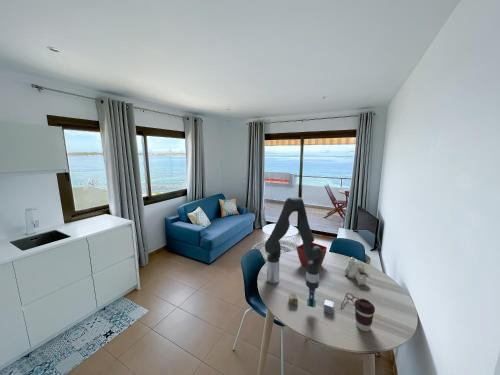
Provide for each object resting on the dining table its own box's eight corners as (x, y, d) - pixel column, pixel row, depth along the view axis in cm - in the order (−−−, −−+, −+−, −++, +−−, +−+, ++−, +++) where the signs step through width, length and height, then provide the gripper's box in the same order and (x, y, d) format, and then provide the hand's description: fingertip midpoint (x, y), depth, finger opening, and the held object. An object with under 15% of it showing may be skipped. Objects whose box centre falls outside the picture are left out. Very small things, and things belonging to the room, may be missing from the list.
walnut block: (289, 305, 133) (290, 298, 132) (289, 300, 138) (289, 293, 137) (297, 305, 133) (297, 298, 132) (296, 300, 137) (296, 293, 137)
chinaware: (370, 291, 146) (374, 270, 143) (345, 284, 152) (348, 264, 149) (363, 270, 172) (367, 252, 169) (342, 265, 178) (345, 247, 174)
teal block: (307, 305, 124) (307, 298, 123) (307, 300, 129) (307, 293, 128) (315, 307, 123) (315, 300, 122) (315, 302, 127) (316, 294, 126)
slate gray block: (323, 311, 127) (324, 304, 126) (325, 306, 131) (325, 299, 130) (332, 314, 125) (332, 307, 124) (333, 309, 129) (333, 302, 128)
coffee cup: (364, 336, 109) (366, 311, 107) (349, 323, 118) (350, 299, 116) (377, 329, 113) (379, 305, 110) (361, 317, 122) (362, 294, 119)
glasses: (367, 306, 130) (368, 299, 130) (363, 319, 121) (364, 312, 120) (346, 297, 139) (346, 291, 138) (340, 309, 129) (340, 302, 128)
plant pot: (307, 257, 193) (308, 240, 190) (326, 265, 179) (327, 247, 176) (295, 265, 180) (296, 247, 177) (315, 274, 166) (316, 254, 164)
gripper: (306, 270, 131) (306, 294, 134) (305, 284, 117) (304, 310, 120) (319, 272, 128) (318, 296, 131) (318, 287, 115) (317, 313, 118)
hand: (311, 303), depth 126 cm, fingers closed on teal block, 5 cm apart
